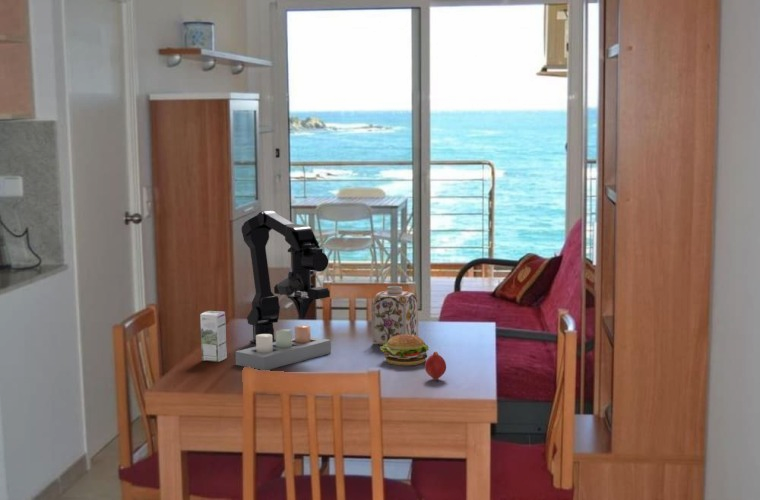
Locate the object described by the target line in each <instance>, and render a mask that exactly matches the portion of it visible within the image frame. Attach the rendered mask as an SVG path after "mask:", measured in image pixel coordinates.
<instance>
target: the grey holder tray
mask: <svg viewBox="0 0 760 500" xmlns="http://www.w3.org/2000/svg"><path fill="white" fill-rule="evenodd" d="M331 347H332V344H331V339H325V338H320V337H315V336H311V342H309V343H305V344H300V343H295V336H294V337H293V336H292V347H289V348H285V349H282V348H277V347H276V342H273V352H269V353H265V354H263V353H258V352H256V346H253V347H248V348H244V349H240V350H236V351H235V366H240V367H244V368H247V367H246V366H250V367H253V368H256V369H255V370H258V369H262V370H265V371H269V370H272V369H276V368H280V367H284V366H288V365H290V364H294V363H298V362H304V361H306V360H310V359H314V358H318V357H321V356H325V355H328V354H331V353H332V348H331ZM253 368H252V369H253ZM262 370H261V371H262Z"/></svg>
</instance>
